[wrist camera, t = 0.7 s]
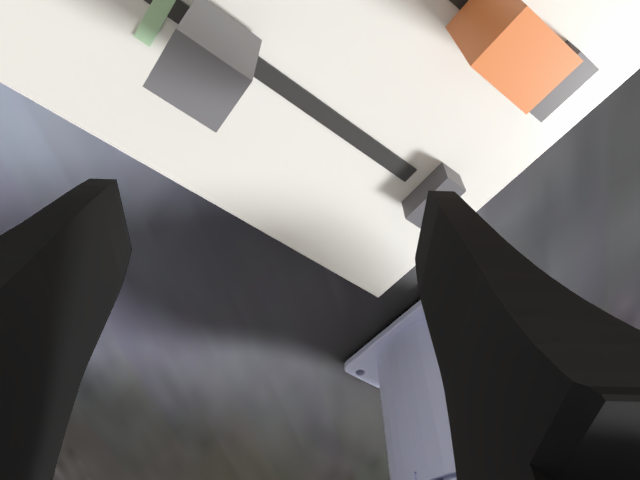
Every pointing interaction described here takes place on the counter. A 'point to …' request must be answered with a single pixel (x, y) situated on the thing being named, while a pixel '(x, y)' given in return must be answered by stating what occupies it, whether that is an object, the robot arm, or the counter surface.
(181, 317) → the counter surface
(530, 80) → the fader orange
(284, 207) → the panel
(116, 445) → the counter surface
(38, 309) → the robot arm
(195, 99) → the grey rectangular box
